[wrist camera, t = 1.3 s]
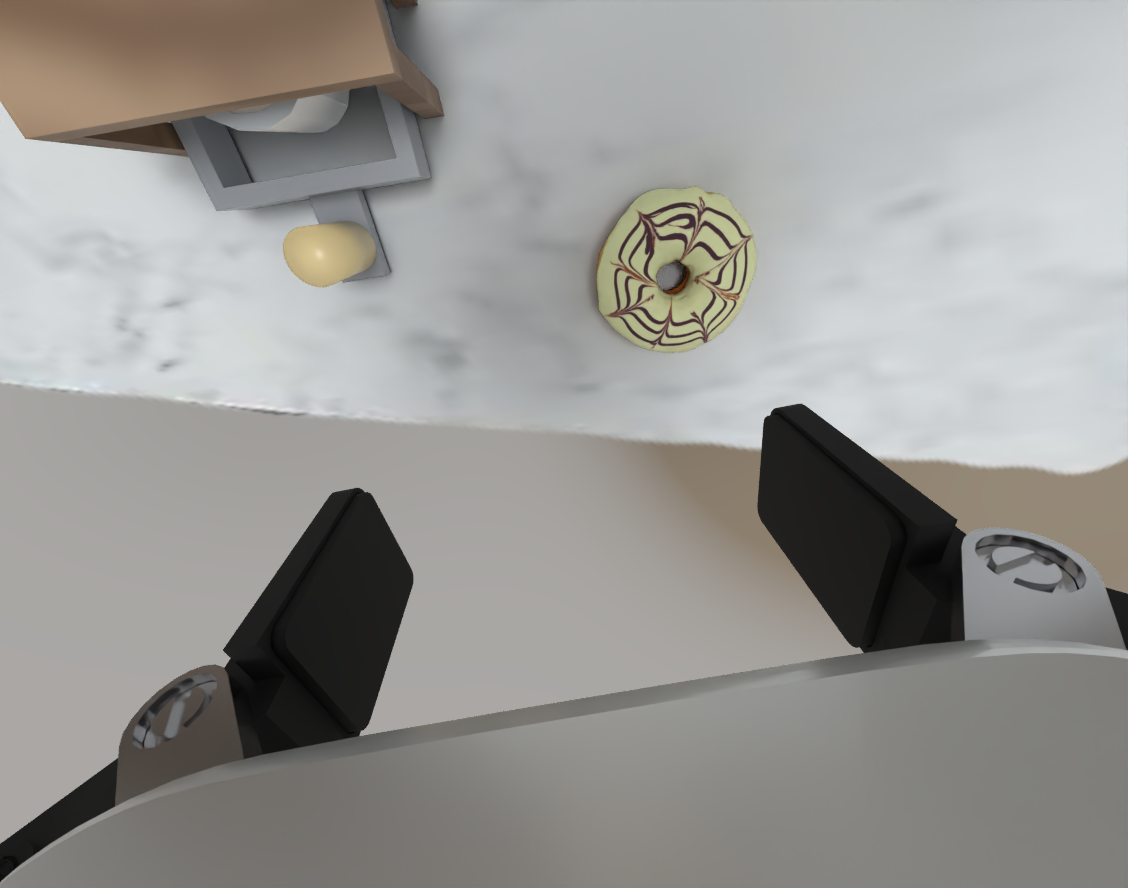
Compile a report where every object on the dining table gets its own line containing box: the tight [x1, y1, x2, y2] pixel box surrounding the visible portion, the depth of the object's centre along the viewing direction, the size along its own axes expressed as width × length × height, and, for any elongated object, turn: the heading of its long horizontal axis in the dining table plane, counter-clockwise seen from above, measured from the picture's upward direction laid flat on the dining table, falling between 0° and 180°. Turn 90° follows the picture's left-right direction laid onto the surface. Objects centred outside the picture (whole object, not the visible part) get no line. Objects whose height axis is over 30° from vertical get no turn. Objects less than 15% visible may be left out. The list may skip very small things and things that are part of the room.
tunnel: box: [0, 0, 444, 157], centre depth 19 cm, size 6×15×10 cm, turn 98°
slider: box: [171, 0, 431, 287], centre depth 20 cm, size 22×12×6 cm, turn 8°
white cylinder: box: [204, 90, 349, 133], centre depth 21 cm, size 7×7×7 cm
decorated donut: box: [596, 186, 757, 353], centre depth 29 cm, size 10×11×4 cm
